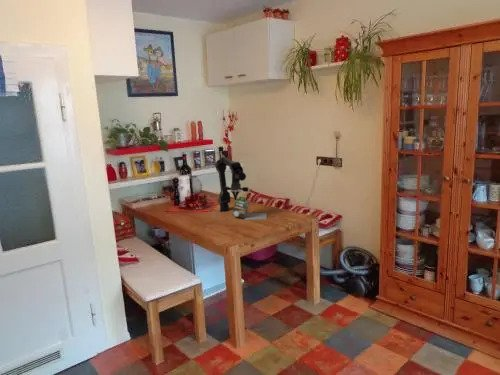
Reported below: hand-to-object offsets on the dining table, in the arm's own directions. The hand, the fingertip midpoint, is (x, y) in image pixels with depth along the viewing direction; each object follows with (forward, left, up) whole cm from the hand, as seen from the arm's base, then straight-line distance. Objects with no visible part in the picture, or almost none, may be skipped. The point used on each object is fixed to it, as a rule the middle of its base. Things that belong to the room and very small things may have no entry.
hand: (235, 200), depth 271 cm
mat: (+15, +2, -13) cm, 20 cm away
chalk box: (+2, +1, -12) cm, 12 cm away
